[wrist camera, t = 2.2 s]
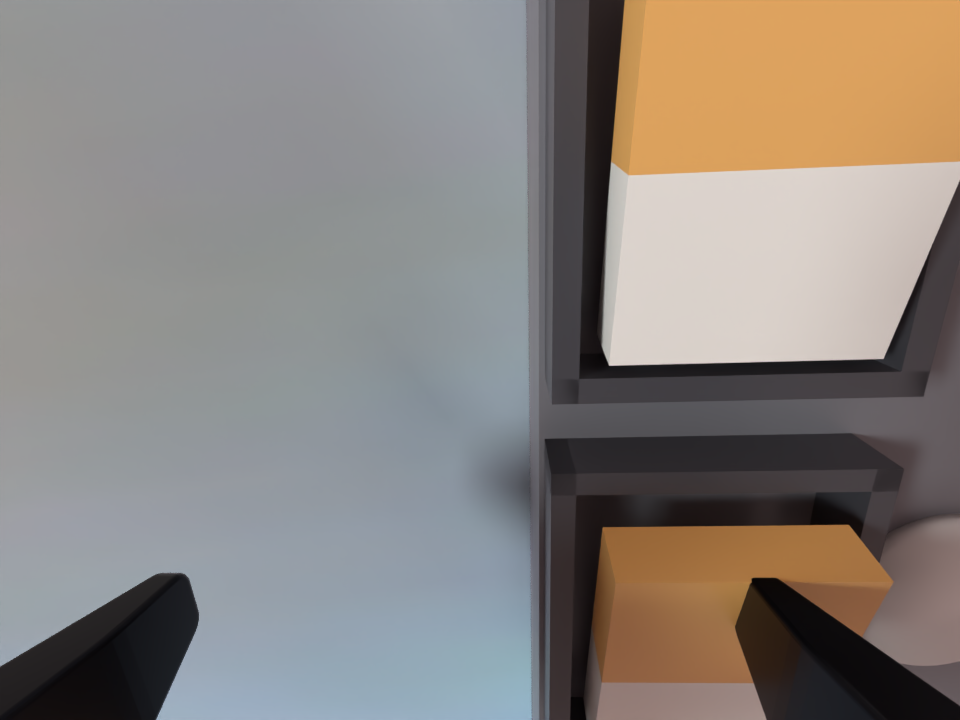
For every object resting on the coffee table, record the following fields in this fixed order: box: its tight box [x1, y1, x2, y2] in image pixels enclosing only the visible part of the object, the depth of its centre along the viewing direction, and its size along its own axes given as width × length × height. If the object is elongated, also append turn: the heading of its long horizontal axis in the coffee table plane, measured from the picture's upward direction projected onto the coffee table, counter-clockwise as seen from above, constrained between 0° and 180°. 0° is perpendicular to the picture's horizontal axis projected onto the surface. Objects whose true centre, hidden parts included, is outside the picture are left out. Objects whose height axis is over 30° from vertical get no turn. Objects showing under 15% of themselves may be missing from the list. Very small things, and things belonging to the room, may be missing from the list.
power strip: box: [526, 0, 960, 720], centre depth 11 cm, size 29×10×4 cm, turn 2°
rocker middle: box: [583, 525, 894, 720], centre depth 9 cm, size 5×4×1 cm
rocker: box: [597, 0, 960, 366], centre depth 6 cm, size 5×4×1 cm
